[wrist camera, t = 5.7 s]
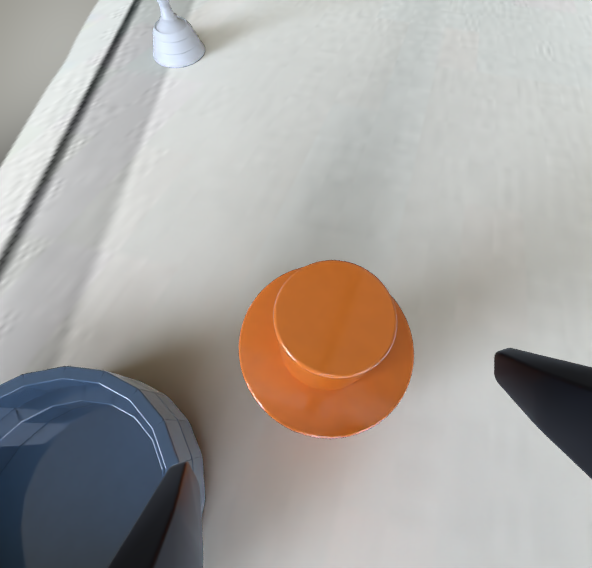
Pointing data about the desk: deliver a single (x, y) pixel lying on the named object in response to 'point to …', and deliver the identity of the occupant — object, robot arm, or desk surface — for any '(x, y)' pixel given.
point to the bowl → (82, 463)
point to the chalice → (175, 39)
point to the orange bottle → (326, 350)
